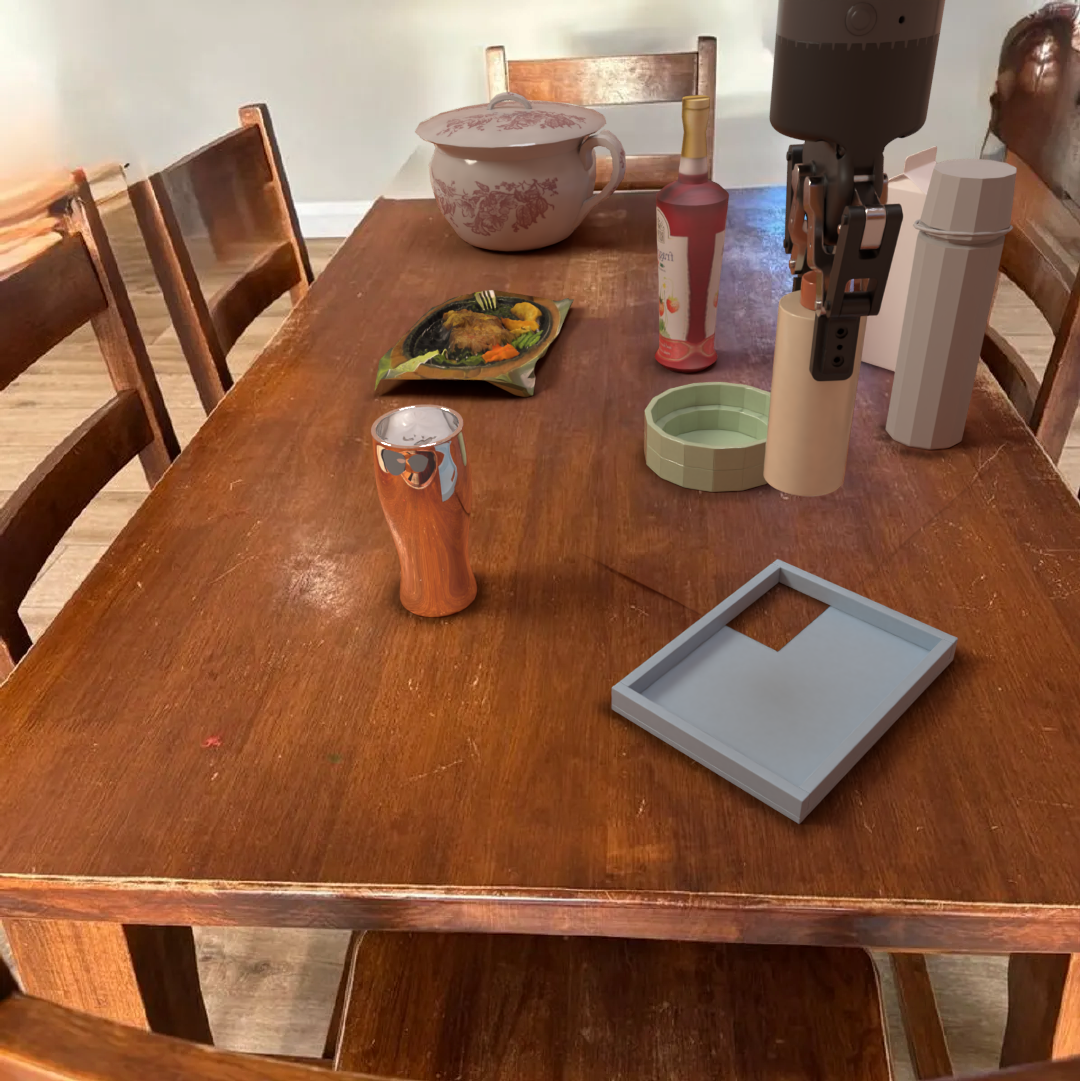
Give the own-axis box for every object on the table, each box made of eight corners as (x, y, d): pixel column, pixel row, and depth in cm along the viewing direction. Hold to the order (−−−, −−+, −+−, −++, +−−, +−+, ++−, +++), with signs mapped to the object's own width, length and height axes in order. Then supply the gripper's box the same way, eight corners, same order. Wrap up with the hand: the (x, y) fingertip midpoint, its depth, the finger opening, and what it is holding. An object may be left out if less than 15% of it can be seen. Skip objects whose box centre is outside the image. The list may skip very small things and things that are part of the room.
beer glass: (382, 584, 81) (354, 417, 73) (461, 559, 84) (443, 394, 75) (413, 632, 76) (387, 458, 67) (497, 603, 78) (482, 432, 70)
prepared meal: (437, 275, 130) (574, 276, 127) (440, 301, 132) (575, 303, 129) (363, 374, 108) (526, 379, 105) (369, 403, 111) (529, 409, 107)
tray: (775, 579, 79) (777, 558, 78) (953, 660, 71) (958, 637, 70) (611, 709, 68) (611, 687, 67) (799, 824, 59) (802, 801, 58)
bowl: (700, 415, 103) (703, 370, 100) (814, 456, 95) (820, 408, 92) (616, 465, 95) (616, 417, 92) (731, 513, 87) (735, 463, 85)
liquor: (728, 375, 110) (746, 101, 95) (664, 384, 109) (671, 108, 93) (705, 349, 116) (718, 87, 101) (644, 358, 115) (648, 94, 99)
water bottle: (973, 457, 93) (1035, 180, 79) (885, 454, 95) (930, 180, 81) (955, 412, 101) (1009, 151, 87) (874, 410, 102) (914, 152, 88)
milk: (927, 356, 112) (967, 149, 100) (898, 374, 109) (935, 162, 96) (878, 342, 116) (911, 140, 104) (849, 358, 113) (878, 152, 100)
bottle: (791, 449, 64) (812, 256, 57) (859, 473, 62) (889, 274, 55) (747, 478, 62) (763, 279, 55) (816, 505, 59) (842, 299, 52)
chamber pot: (405, 228, 160) (388, 88, 149) (563, 202, 168) (559, 67, 157) (462, 282, 139) (448, 122, 127) (641, 249, 147) (642, 96, 135)
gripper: (994, 42, 42) (925, 412, 51) (892, 1, 54) (851, 308, 63) (812, 51, 42) (777, 418, 51) (750, 9, 54) (731, 313, 63)
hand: (818, 356), depth 57 cm, fingers closed on bottle, 4 cm apart
